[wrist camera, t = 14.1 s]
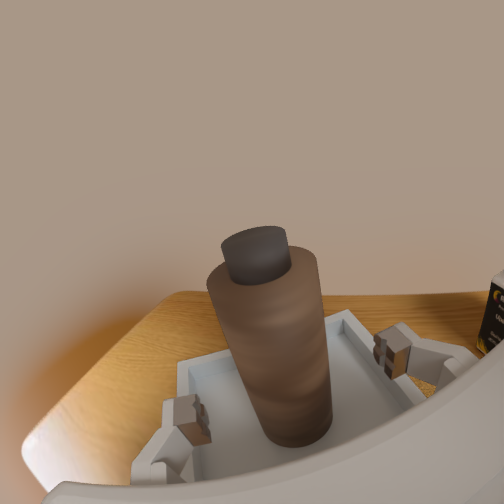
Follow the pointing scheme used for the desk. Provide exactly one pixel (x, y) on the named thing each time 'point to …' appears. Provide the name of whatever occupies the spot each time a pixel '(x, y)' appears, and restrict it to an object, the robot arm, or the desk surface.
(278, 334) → the walnut pepper mill
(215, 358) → the pale dish
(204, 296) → the desk surface
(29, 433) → the desk surface
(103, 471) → the desk surface
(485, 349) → the medicine bottle
